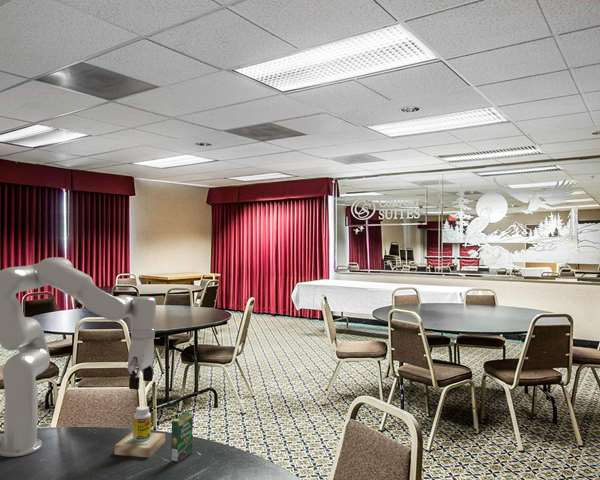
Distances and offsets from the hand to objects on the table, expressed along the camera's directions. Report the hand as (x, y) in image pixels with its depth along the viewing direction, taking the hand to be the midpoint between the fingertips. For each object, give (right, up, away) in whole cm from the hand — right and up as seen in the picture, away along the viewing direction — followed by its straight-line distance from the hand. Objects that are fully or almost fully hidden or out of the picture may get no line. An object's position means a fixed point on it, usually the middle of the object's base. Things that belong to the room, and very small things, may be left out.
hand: (141, 384), depth 162 cm
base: (0, -21, 0) cm, 21 cm away
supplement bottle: (0, -18, 0) cm, 18 cm away
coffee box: (+15, -22, -6) cm, 27 cm away
